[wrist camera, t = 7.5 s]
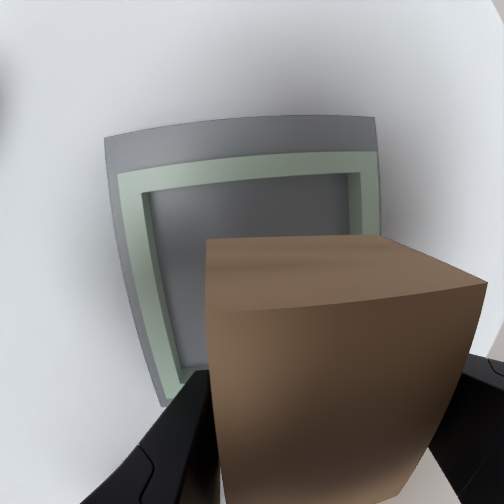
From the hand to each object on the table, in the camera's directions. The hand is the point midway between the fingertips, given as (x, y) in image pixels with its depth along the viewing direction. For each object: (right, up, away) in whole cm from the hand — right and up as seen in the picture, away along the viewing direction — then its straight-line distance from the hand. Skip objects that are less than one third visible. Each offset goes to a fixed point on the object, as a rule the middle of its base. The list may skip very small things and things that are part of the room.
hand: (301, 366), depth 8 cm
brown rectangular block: (0, 0, +1) cm, 1 cm away
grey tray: (-1, +2, +8) cm, 9 cm away
